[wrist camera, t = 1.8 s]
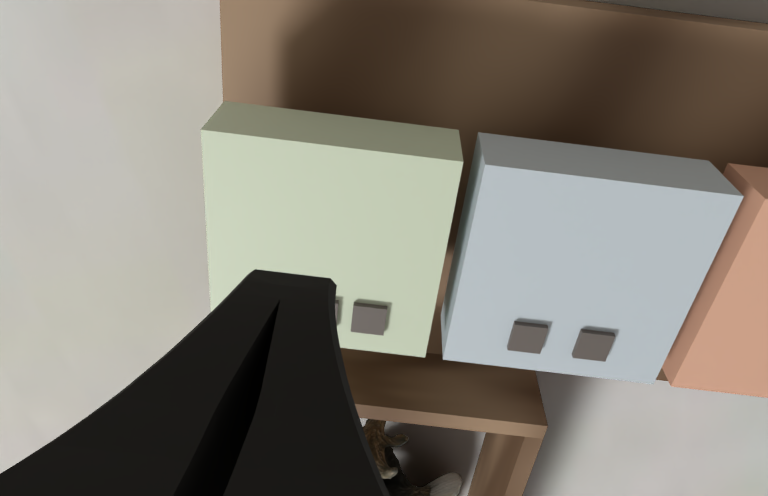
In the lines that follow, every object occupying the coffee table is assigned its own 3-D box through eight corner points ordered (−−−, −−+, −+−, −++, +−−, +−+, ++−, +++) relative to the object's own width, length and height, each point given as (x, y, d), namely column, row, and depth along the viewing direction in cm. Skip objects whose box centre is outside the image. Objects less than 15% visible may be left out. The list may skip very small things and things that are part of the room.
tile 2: (708, 160, 16) (747, 199, 14) (632, 337, 19) (655, 388, 17) (478, 132, 16) (485, 167, 14) (440, 315, 19) (442, 363, 17)
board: (964, 48, 16) (1104, 95, 13) (642, 575, 30) (670, 664, 27) (230, -45, 16) (181, -22, 13) (244, 531, 30) (221, 615, 27)
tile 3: (458, 129, 16) (463, 165, 14) (424, 313, 19) (424, 361, 17) (224, 100, 15) (198, 132, 14) (230, 290, 19) (210, 336, 17)
